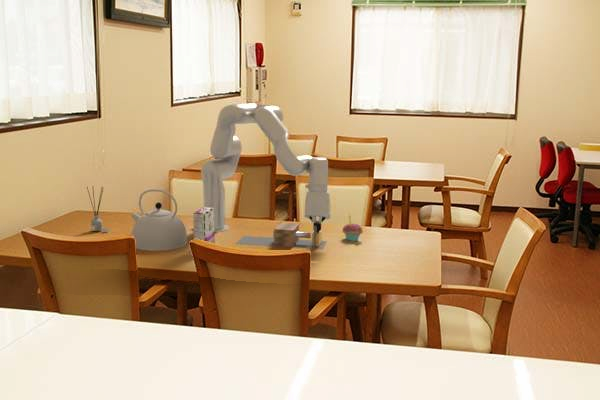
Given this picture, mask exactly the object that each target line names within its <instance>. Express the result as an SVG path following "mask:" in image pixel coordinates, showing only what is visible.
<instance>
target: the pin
mask: <svg viewBox="0 0 600 400" xmlns="http://www.w3.org/2000/svg"><path fill="white" fill-rule="evenodd" d="M275 228H276V227H274V228H273V230H274V229H275ZM272 238H274V231H273V234H272ZM296 238H299V239H312V232H305V231H299V232H296Z"/></svg>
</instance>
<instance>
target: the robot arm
mask: <svg viewBox="0 0 600 400" xmlns="http://www.w3.org/2000/svg"><path fill="white" fill-rule="evenodd" d="M283 119H284V113H283V111H282V110H281V108H280V107H278V106H276V105H271V104H270V105H269V104H263V103H262V104H261V103H251V102H249V103H233V104H228V105H225V106H223V107H222V108H221V110H220V111H219V113H218V117H217V122H216V126H215V130H214V133H213V137H212V140H211V143H210V149H209V150H210V154H211V156H212V157H214V158H213V159H209V160H207V161H205V162H204V163H203V164H202V165H201V168H200V175H201V181H202V188H203V189H202V192H203V193H202V194H203V207H210V208H214V233H222V232H225V231H228V230H229V228H230V227H229V226H228V225H227V224H226V189H225V185H224V182H223V180H226V179H230V178H231V177H233V175H234V174H235V172H236V170H237V167H238V163H239V161H240V156H241V153H242V149H243V148H242V147H243V146H242V141H241V140H240V138H239V137H237V136H236V135H235V134H236V131H237V130H236V128H237V127H236V126H237V125H244V124H257V127H259V129H260V130H261V131H262V132H263V133H264V135H265V137H267V139H268V140H269V141H270V142H271V144H272V146H273V152H274V155H275V158H276V160H277V161H278V163H279V164H280V165H281V167H282V168H283V170H284V171H285V172H287V173H288V174H289V175H290V176H293V177H298V176H301V175H306V174H308V184H305V186H304V188H305V189H307V191H306V194H305V198H304V199H305V201H304V218H305V219H309V220H310V221H311V222H312V223H313V228H312V229H313V230H312V231H314V226H317V232H316V233H319V232H320V231H321V230H322V223H323V222H324V221H325V220H329V219H331V198H330V197H331V196H330V192H329V190H328V178H329V177H328V175H329V161H328V158H326V157H321V156H320V157H319V156H318V157H317V156H316V157H315V156H311V155H307V154H304V155H298V156H296V155H295V154H294V152H293V150H292V149H291V148H290V146H289V143H288V141H289V137H290V131H289V129H287V127H286V126H285V124H284V123H283ZM317 217H318V220H319V221H318V220H317ZM317 221H318V222H317Z"/></svg>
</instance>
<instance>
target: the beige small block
mask: <svg viewBox="0 0 600 400" xmlns="http://www.w3.org/2000/svg"><path fill="white" fill-rule="evenodd" d="M322 233H323V230H322V229H321V231H320V232H319V233H316V246H317V247H319V245H320V243H321V242H322V241H323V239H322V237H323V235H322ZM311 240H312V244H311V246H313V241H314V230H312V232H311Z"/></svg>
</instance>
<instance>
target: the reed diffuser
mask: <svg viewBox="0 0 600 400" xmlns="http://www.w3.org/2000/svg"><path fill="white" fill-rule="evenodd" d="M92 188H94V186H93V185H92ZM86 189H87V193H88V196H89V199H90V202H91V203H90V204H91V207H92V210H93V213H94V214H93V215H94V216H93V218H92V220H91V221H90V227H91V228H90V229H91V231H93V232H95V231H102V232H103V233H108V232H109V228H108V227H103V220H102V219H100V217H99V210H100V206H101V200H102V196H103V193H104V189H103V187H101V189H100V194H99V199H98V205H97V211H95V209H96V204H95V200H93V202H92V199H91V198H92V197H91V194H90V191H89V189H88V186H86ZM92 193H93V194H92V196H93V198H95V194H94V193H95V191H94V189H92Z"/></svg>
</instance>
